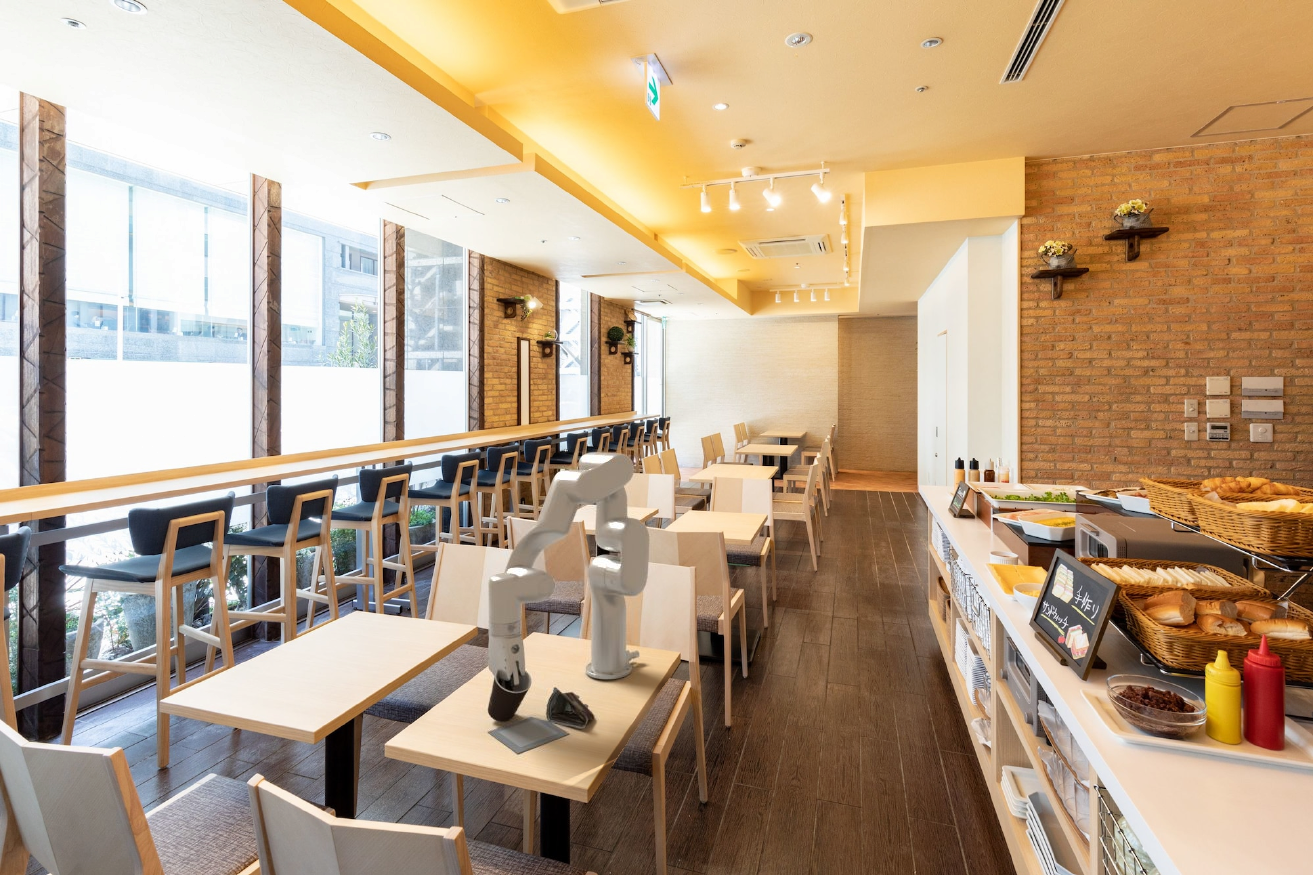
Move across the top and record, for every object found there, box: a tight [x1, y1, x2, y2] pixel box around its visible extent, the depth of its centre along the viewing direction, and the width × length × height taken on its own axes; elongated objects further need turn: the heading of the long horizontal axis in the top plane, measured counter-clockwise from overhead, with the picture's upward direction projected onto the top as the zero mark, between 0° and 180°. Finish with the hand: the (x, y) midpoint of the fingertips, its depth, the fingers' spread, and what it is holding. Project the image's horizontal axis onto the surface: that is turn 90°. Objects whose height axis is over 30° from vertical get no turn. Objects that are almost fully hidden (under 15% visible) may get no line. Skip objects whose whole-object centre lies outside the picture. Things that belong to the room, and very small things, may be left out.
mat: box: [487, 716, 570, 755], centre depth 142 cm, size 13×13×1 cm
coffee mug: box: [487, 670, 533, 723], centre depth 150 cm, size 12×9×10 cm
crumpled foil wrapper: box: [545, 687, 595, 730], centre depth 149 cm, size 10×7×12 cm
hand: (505, 704), depth 150 cm, fingers closed
